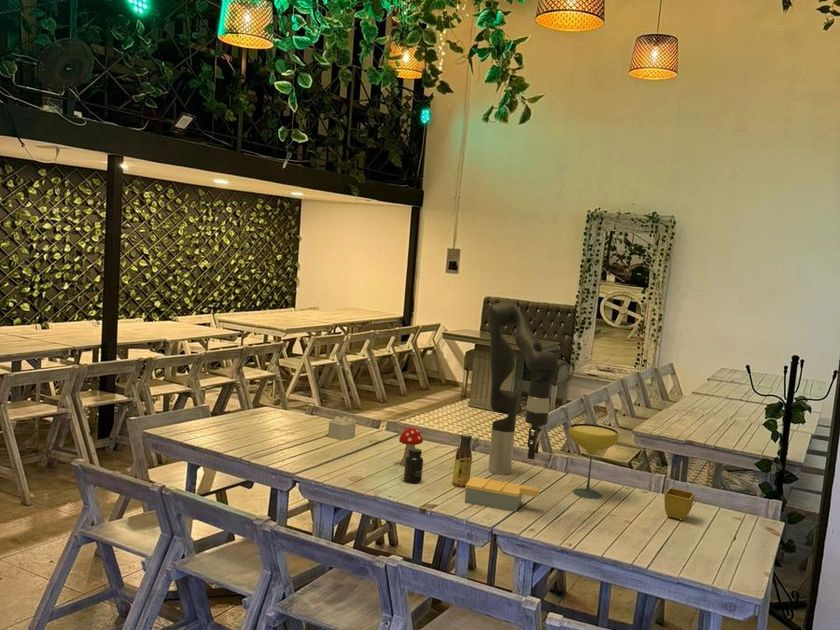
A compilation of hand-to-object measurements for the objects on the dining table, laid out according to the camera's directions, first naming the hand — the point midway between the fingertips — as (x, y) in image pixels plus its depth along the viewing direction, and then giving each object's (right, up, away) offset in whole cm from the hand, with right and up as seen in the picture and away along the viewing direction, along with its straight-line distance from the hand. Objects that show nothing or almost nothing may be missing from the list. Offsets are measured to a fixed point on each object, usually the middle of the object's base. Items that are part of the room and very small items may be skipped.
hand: (532, 455), depth 250 cm
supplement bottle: (-42, -14, +24) cm, 50 cm away
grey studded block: (-74, -7, +81) cm, 110 cm away
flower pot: (+52, -24, +8) cm, 58 cm away
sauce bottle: (-24, -16, +22) cm, 36 cm away
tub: (-13, -18, +5) cm, 23 cm away
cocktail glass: (+25, -20, +27) cm, 42 cm away
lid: (-10, -12, +4) cm, 16 cm away
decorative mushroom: (-43, -12, +46) cm, 64 cm away
